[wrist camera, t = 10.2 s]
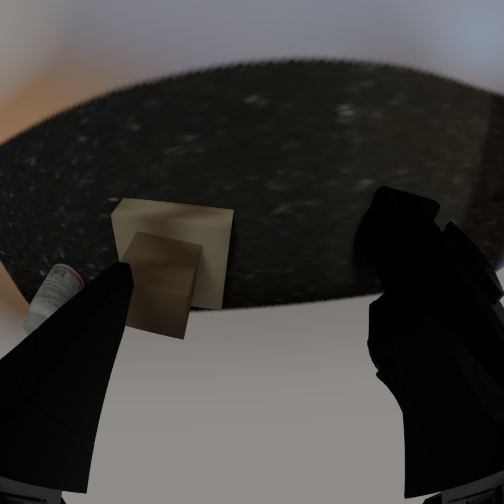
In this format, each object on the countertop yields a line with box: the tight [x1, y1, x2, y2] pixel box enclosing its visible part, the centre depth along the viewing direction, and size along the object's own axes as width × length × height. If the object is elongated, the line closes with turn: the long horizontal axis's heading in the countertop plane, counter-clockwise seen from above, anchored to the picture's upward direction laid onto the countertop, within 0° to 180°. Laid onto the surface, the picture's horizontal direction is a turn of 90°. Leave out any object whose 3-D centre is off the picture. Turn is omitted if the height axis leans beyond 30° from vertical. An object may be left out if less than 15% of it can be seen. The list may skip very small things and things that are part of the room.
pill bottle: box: [24, 264, 85, 334], centre depth 23 cm, size 5×5×8 cm
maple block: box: [111, 198, 234, 310], centre depth 23 cm, size 9×9×3 cm
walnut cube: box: [120, 232, 201, 339], centre depth 19 cm, size 5×5×5 cm
